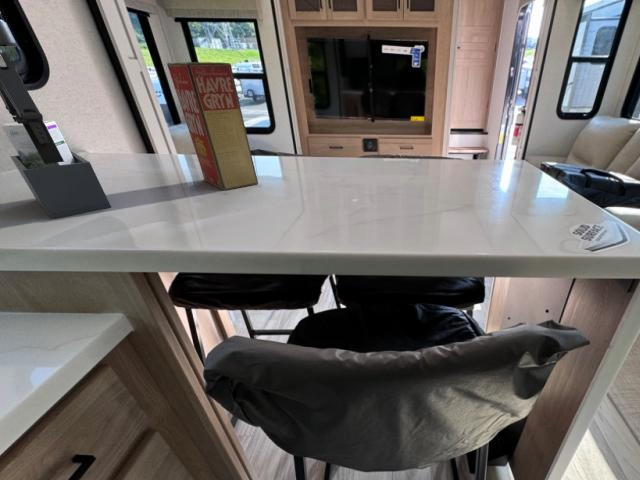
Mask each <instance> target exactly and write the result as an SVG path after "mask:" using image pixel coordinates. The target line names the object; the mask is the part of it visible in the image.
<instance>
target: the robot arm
mask: <svg viewBox="0 0 640 480" xmlns="http://www.w3.org/2000/svg"><path fill="white" fill-rule="evenodd" d="M1 13H2V12H1V11H0V15H1ZM15 39H16V38H15V37H14V35H13V33H12V32H11V29H10V28H9V25H8V23H7V22H5V20H4V19H1V18H0V48H16V47H17V46H18V44H17V42H16V40H15ZM0 98H1V100H2V102H3V104H4V105H5V109H6V110H7V111H8V114H10V115H11V117H12V120H13V122H17V123H18V124H23V126H24V127H25V129H26V131H27V133H28V135H29V136H30V138H31V140H32V142H33V144H34V145H35V147H36V149H37V151H38V153H39V154H40V156H41V158H42V160H43V162H44V163H45V164H49V163H57V162H64V160H63V158H62V156H61V154H60V152H59V151H58V149H57V147H56V145H55V143H54V141H53V139H52V137H51V135H50V133H49V131H48V129H47V127H46V126H45V124H44V122H43V121H44V116H43V113H41V112H40V110H39V108H38V107H37V105H36V103H35V101H34V99H33V98H32V96H31V95H30V93H29V91H28V89H27V87H26V85H25V84H24V82H23V79H22V78H21V76H20V74H19V71H18V68H17V66H16V63H14V61H13V60H11V57H10V54H9V55H8V53H7V52H3V51H2V50H1V49H0Z"/></svg>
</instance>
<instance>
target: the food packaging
mask: <svg viewBox="0 0 640 480" xmlns="http://www.w3.org/2000/svg"><path fill="white" fill-rule="evenodd" d="M166 66H167V68H168V71H169V74H170V77H171V81H172V84H173V88H174V90H175V93H176V96H177V99H178V101H179V102H178V103H179V105H180V108H181V111H182V114H183V118H184V120H185V123H186V126H187V129H188V133H189V135H190V138H191V142H192V145H193V148H194V150H195V153H196V157H197V160H198V163H199V167H200V170H201V174H202V176H203V181H205V182H207V183H209V184H210V185H212V186H214V187H217V188H218V189H219V190H222V191H225V192H226V191H229V190H235V189H239V188H240V189H241V188H246V187H250V186H254V185H259V180H258V176H257V172H256V168H255V164H254V160H253V156H252V152H251V151H252V150H251V147H250V143H249V139H248V138H249V137H248V134H247V129H246V126H245V122H244V121H245V120H244V118H243V117H244V116H243V114H242V108H241V104H240V100H239V94H238V90H237V86H236V82H235V77H234V73H233V69H232V68H233V67H232V64H231V63H230V62H220V61H219V62H218V61H215V62H212V61H211V62H210V61H206V62H205V61H203V62H202V61H193V62H192V61H187V62H182V61H181V62H167V63H166Z"/></svg>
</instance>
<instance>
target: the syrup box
mask: <svg viewBox="0 0 640 480" xmlns="http://www.w3.org/2000/svg"><path fill="white" fill-rule="evenodd" d="M43 122H44V124H45V126H46V127H47V129H48V131H49V133H50V135H51V137H52V139H53V141H54V143H55V145H56V147H57V149H58V151H59V152H60V154H61V156H62V158H63V160H64V162H57V163H49V164H45V163H44V162H43V160H42V158H41V156H40V154H39V153H38V151H37V149H36V147H35V145H34V144H33V142H32V140H31V138H30V136H29V135H28V133H27V131H26V129H25V127H24V126H23V124H18V123H17V122H15V121H11V122H6V123H4V124H0V126H1V128H2V130H3V131H4V133H5V135H6V137H7V138H8V140H9V142H10V143H11V145H12V147H13V148H14V150H15V151H16V153H17V155H19V156H20V158H21V160H22V161H23V163H24V165H25V167H26V168H27V169H34V168H42V167H50V166H58V165H66V164H74V163H76V162H75V160H74V158H73V156H72V154H71V152H70V151H71V150H70V148H69V145H68V144H67V142H66V140H65V138H64V136H63V134H62V132H61V130H60V128H59V126H58V124H57V123H56V121H55V120H43Z"/></svg>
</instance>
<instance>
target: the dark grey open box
mask: <svg viewBox="0 0 640 480" xmlns="http://www.w3.org/2000/svg"><path fill="white" fill-rule="evenodd" d="M70 152H71V154H72V156H73V158H74V160H75V162H76V163H74V164H66V165H58V166H50V167H42V168H34V169H27V168H26V167H25V165H24V163H23V161H22V160H21V158H20V156H19V155H18V154H17V155H10V158H11V161H12V162H13V164H14V165H15V167H16V169H17V170H18V171H19V173H20V175H21V177H22V179H23V180H24V181H25V184H26V185H27V187H28V188H29V190H30V192H31V193H32V195H33V197H34V198H35V200H36V201H37V202H38V204H39V205H40V207H41V208H42V209H43V210H44V212H45V213H47V215H48V217H49V218H50V219H51V220H56V219H60V218H65V217H69V216H75V215H80V214H84V213H89V212H94V211H100V210H104V209H110V208H112V205H111V203H110V201H109V199H108V198H107V195H106V192H105V190H104V189H103V187H102V184H101V183H100V181H99V179H98V177H97V174H96V172H95V170H94V168H93V166H92V164H91V162H90V161H88V160H87V159H85V158H84V157H82V156H80V155H79V154H77V153H75V152H74V151H72V150H70Z"/></svg>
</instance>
